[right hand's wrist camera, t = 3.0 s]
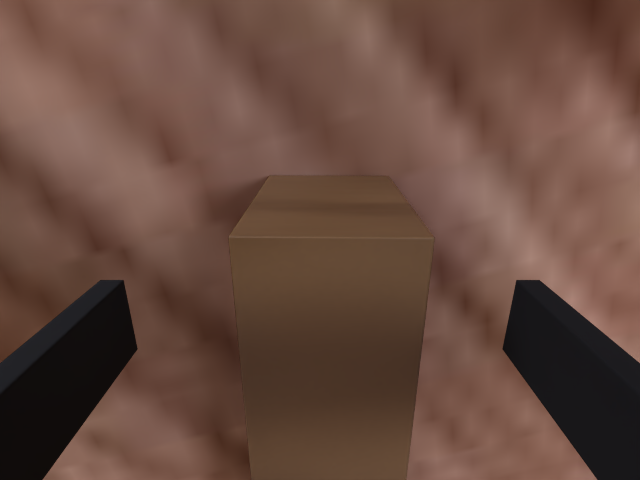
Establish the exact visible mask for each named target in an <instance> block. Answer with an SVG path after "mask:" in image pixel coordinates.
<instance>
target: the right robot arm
mask: <svg viewBox="0 0 640 480" xmlns="http://www.w3.org/2000/svg"><path fill="white" fill-rule="evenodd" d="M136 350H137V344H136V339H135V335H134V330H133V325H132V320H131V315H130V310H129V305H128V300H127V295H126V290H125V285H124V280H100V281H99V282H98V283H97V284H95V285H94V286H93V287H92V288H90V289H89V290H88V291H87V292H86V293H84V294H83V295H82V296H81V297H80V298H78V299H77V300H76V301H75V302H74V303H72V304H71V305H70V306H69V307H68V308H66V309H65V310H64V311H63V312H62V313H60V314H59V315H58V316H57V317H55V318H54V319H53V320H52V321H51V322H49V323H48V324H47V325H46V326H45V327H43V328H42V329H41V330H40V331H39V332H37V333H36V334H35V335H34V336H33V337H31V338H30V339H29V340H28V341H27V342H25V343H24V344H23V345H22V346H21V347H19V348H18V349H17V350H16V351H14V352H13V353H12V354H11V355H10V356H8V357H7V358H6V359H5V360H4V361H2V362H1V363H0V480H43V478H44V477H45V475H46V474H47V473H48V471H49V470H50V469H51V467H52V466H53V464H54V463H55V462H56V460H57V459H58V458H59V456H60V455H61V453H62V452H63V451H64V449H65V448H66V447H67V445H68V444H69V442H70V441H71V440H72V438H73V437H74V436H75V434H76V433H77V432H78V430H79V429H80V427H81V426H82V425H83V423H84V422H85V421H86V419H87V418H88V416H89V415H90V414H91V412H92V411H93V410H94V408H95V407H96V405H97V404H98V403H99V401H100V400H101V399H102V397H103V396H104V394H105V393H106V392H107V390H108V389H109V388H110V386H111V385H112V383H113V382H114V381H115V379H116V378H117V377H118V375H119V374H120V372H121V371H122V370H123V368H124V367H125V366H126V364H127V363H128V361H129V360H130V359H131V357H132V356H133V355H134V353H135V352H136ZM503 350H504V352H505V353H506V355H507V356H508V357H509V359H510V360H511V361H512V363H513V364H514V366H515V367H516V368H517V370H518V371H519V372H520V374H521V375H522V377H523V378H524V379H525V381H526V382H527V383H528V385H529V386H530V388H531V389H532V390H533V392H534V393H535V394H536V396H537V397H538V399H539V400H540V401H541V403H542V404H543V405H544V407H545V408H546V410H547V411H548V412H549V414H550V415H551V416H552V418H553V419H554V421H555V422H556V423H557V425H558V426H559V427H560V429H561V430H562V432H563V433H564V434H565V436H566V437H567V438H568V440H569V441H570V442H571V444H572V445H573V447H574V448H575V449H576V451H577V452H578V453H579V455H580V456H581V458H582V459H583V460H584V462H585V463H586V464H587V466H588V467H589V469H590V470H591V471H592V473H593V474H594V475H595V477H596V478H597V480H640V363H639V362H638V361H636V360H635V359H634V358H633V357H632V356H630V355H629V354H628V353H627V352H626V351H624V350H623V349H622V348H621V347H619V346H618V345H617V344H616V343H615V342H613V341H612V340H611V339H610V338H609V337H607V336H606V335H605V334H604V333H603V332H601V331H600V330H599V329H598V328H597V327H595V326H594V325H593V324H592V323H591V322H589V321H588V320H587V319H586V318H584V317H583V316H582V315H581V314H580V313H578V312H577V311H576V310H575V309H574V308H572V307H571V306H570V305H569V304H568V303H566V302H565V301H564V300H563V299H562V298H560V297H559V296H558V295H557V294H556V293H554V292H553V291H552V290H551V289H550V288H548V287H547V286H546V285H545V284H543V283H542V282H541V281H540V280H516V285H515V290H514V295H513V300H512V305H511V310H510V315H509V320H508V325H507V330H506V335H505V339H504V344H503Z"/></svg>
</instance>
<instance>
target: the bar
mask: <svg viewBox="0 0 640 480" xmlns="http://www.w3.org/2000/svg"><path fill="white" fill-rule="evenodd" d="M228 239H229V250H230V261H231V271H232V282H233V292H234V303H235V313H236V324H237V335H238V345H239V356H240V366H241V377H242V387H243V398H244V409H245V419H246V430H247V440H248V451H249V462H250V472H251V480H406V477H407V469H408V460H409V452H410V443H411V435H412V426H413V418H414V410H415V401H416V393H417V384H418V376H419V367H420V359H421V350H422V342H423V333H424V325H425V317H426V308H427V300H428V291H429V283H430V274H431V266H432V257H433V249H434V240H435V238H434V236H433V235H432V234H431V232H430V231H429V230H428V228H427V227H426V226H425V224H424V223H423V222H422V220H421V219H420V218H419V216H418V215H417V214H416V212H415V211H414V210H413V208H412V207H411V206H410V204H409V203H408V202H407V200H406V199H405V198H404V196H403V195H402V194H401V192H400V191H399V190H398V188H397V187H396V185H395V184H394V183H393V181H392V180H391V179H390V177H389V176H269V177H268V179H267V180H266V182H265V183H264V185H263V186H262V188H261V189H260V191H259V192H258V194H257V195H256V197H255V198H254V199H253V201H252V202H251V204H250V205H249V207H248V208H247V210H246V211H245V213H244V214H243V216H242V217H241V219H240V220H239V222H238V223H237V225H236V226H235V228H234V229H233V231H232V232H231V234H230V235H229V237H228Z"/></svg>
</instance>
